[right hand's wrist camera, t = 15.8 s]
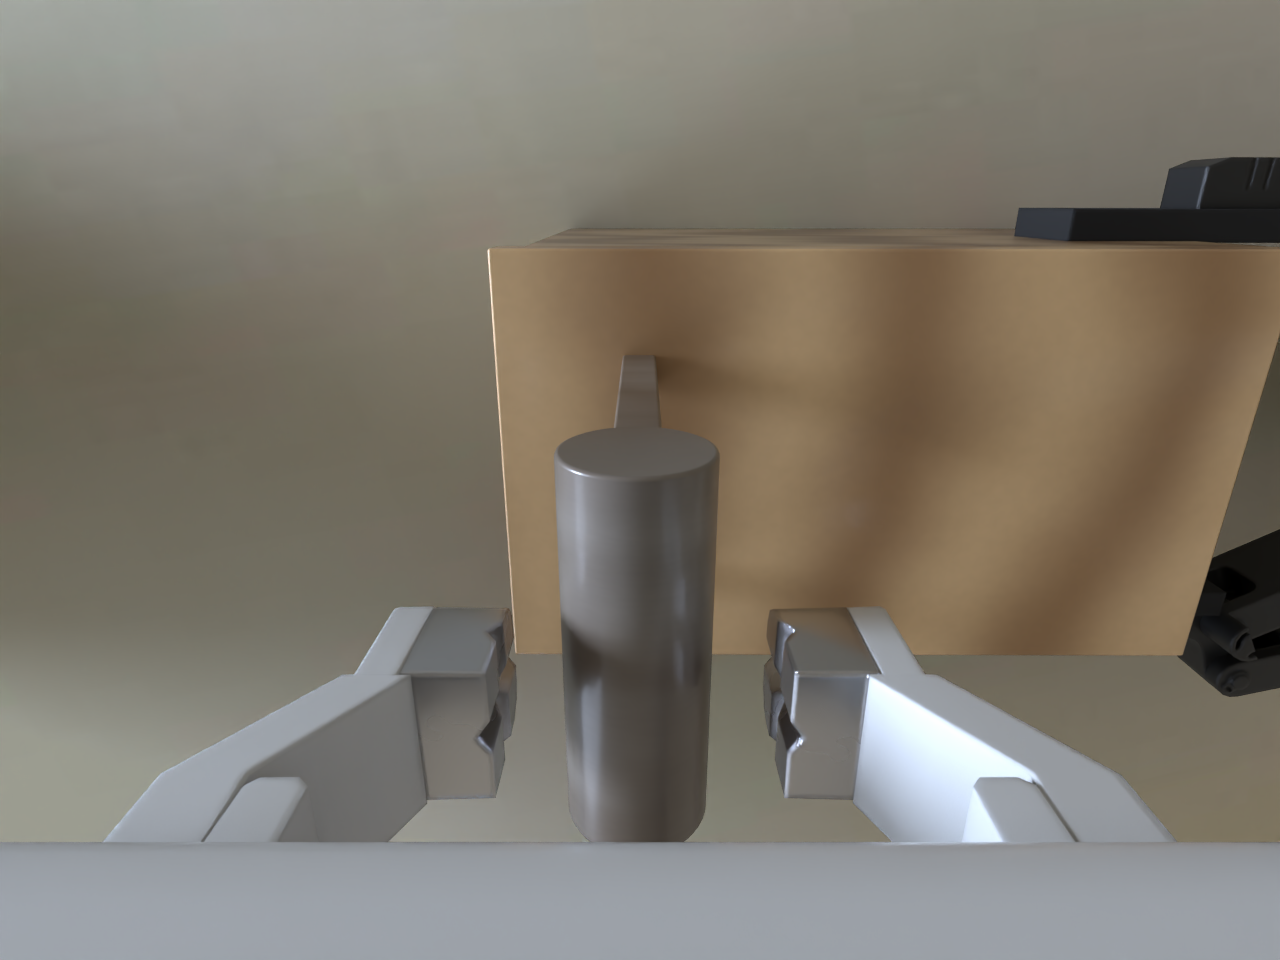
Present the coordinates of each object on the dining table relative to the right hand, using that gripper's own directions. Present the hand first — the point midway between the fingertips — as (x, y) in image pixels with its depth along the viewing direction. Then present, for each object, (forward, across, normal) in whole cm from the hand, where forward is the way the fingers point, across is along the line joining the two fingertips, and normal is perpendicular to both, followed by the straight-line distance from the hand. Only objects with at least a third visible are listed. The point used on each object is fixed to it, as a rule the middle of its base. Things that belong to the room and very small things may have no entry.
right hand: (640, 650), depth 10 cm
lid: (+8, +5, 0) cm, 9 cm away
